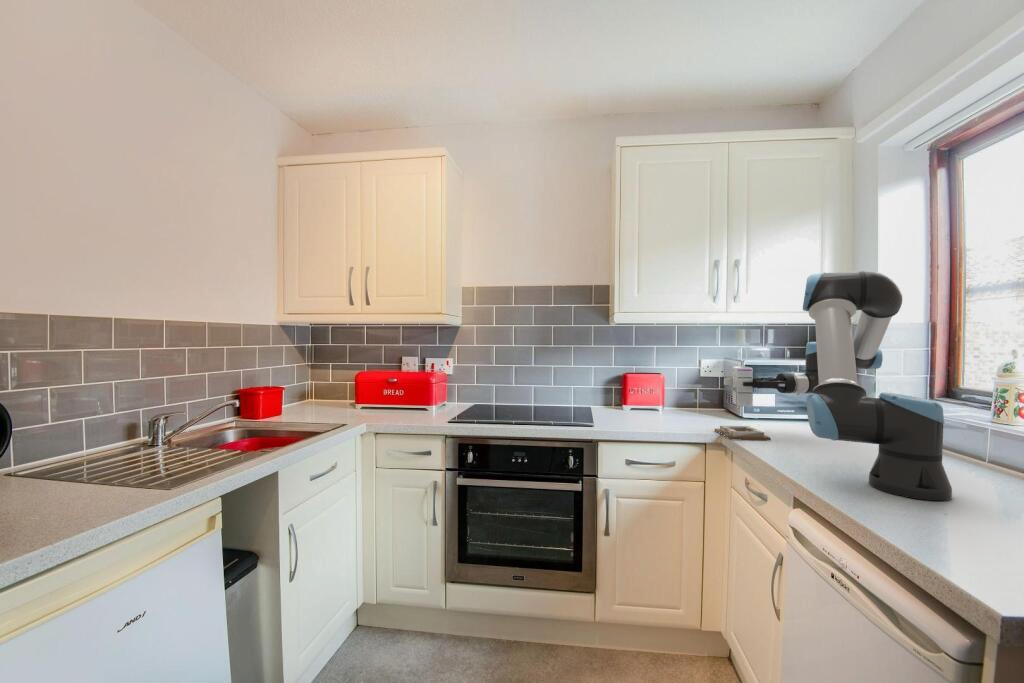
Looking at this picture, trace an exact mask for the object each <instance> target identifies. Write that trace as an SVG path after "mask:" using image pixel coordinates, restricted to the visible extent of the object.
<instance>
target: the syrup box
mask: <svg viewBox="0 0 1024 683" xmlns="http://www.w3.org/2000/svg"><path fill="white" fill-rule="evenodd" d="M753 369H754V368H753V367H749V366H744V365H743V366H742V365H741V366H740V365H739V366H732V378H733V380H752V382H753V378H754V376H753V374H754V372H753V371H754V370H753ZM731 386H732V387H731V388H732V396H731V397H732V398H731V400H732V404H733V405H735V406H737V407H750V408H751V407H753V406H754V405H753V404H754V403H753V402H754V401H753V400H754V398H753V397H754V393H753V392H754V388H753V387H752V388H744V387H733V385H731Z"/></svg>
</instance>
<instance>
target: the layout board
mask: <svg viewBox="0 0 1024 683" xmlns="http://www.w3.org/2000/svg"><path fill="white" fill-rule="evenodd" d="M714 430H715V431H717V432H720V433H722V434H723V435H725V436H726V437H725V436H724V437H725V438H727V437H728V438H727V439H729V440H731V441H733V440H732V439H741V440H740V441H767V440H771V441H772V438H771V437H770V436H767V435H766V434H765V432H764V431H761V430H759V429H756V428H754V427H751V426H750V425H720V426H719V428H714ZM715 431H714V432H715ZM717 432H716V433H717ZM723 435H722V436H723Z"/></svg>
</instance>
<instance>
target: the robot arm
mask: <svg viewBox="0 0 1024 683" xmlns="http://www.w3.org/2000/svg"><path fill="white" fill-rule="evenodd" d="M901 290H902V289H901V288H900V287H899V285H898V284H897V283H896V282H895V281H894V280H893V279H892V278H891V277H889V276H888V275H886V274H884V273H881V272H879V271H875V270H874V271H873V270H863V271H861V270H860V271H838V272H837V271H836V272H825V271H824V272H822V273H821V272H820V273H819V272H818V273H812V274H810V275H808V277H807V278H806V284H805V290H804V296H803V297H804V298H803V303H802V310H803V311H804V312H808V315H809V317H810V318H811V319H812V320H814V322H815V324H814V325H815V327H814V328H815V340H816V341H809V342H807V343H806V345H805V348H806V349H805V354H804V355H805V372H802V373H801V372H791V373H790V372H788V373H786V372H780V373H778V374H777V375H776V377H772V376H771V377H770V376H769V377H753V382H752V380H733V377H724V378H723V385H724V386H733V387H744V388H752V387H753V389H774V390H777V391H778V393H780V394H796V395H801V394H808V395H807V396H806V402H805V403H806V409H807V410H806V413H807V421H808V424H809V427H810V430H811V432H812V434H813V435H815V437H817V438H821V439H827V440H832V441H841V442H842V441H843V442H854V443H860V444H861V443H862V444H864V443H865V444H871V445H872V444H873V445H878V451H877V452H878V454H877V456H876V458H875V461H874V463H873V465H872V467H871V469H870V472H869V474H868V483H869V485H870V486H872V487H874V488H876V489H877V488H878V490H880V491H883V492H886V493H889V492H890V494H892V493H894V494H893V495H896V494H898V495H897V496H900V495H902V496H901V497H905V496H907V497H906V498H910V497H912V498H911V499H915V498H917V499H916V500H922V499H925V500H924V501H932V500H945V501H948V500H947V499H950V498H951V497H953V488H952V485H951V483H950V481H949V478H948V474H947V473H946V470H945V468H944V465H943V453H944V452H943V446H944V424H945V419H944V418H945V417H944V407H943V406H942V405H941V404H940V403H938V402H937V401H934V400H930V399H926V398H921V397H916V396H912V395H907V394H906V395H905V394H898V393H892V392H890V393H889V392H880V393H879V395H878V397H867V390H866V389H865V388H864V387H863V386H862V385H860V384H858V383H859V381H858V375H857V374H858V372H857V369H858V370H861V369H862V370H872V369H873V370H877V369H880V368H881V367H882V365H883V358H884V356H883V351H882V350H881V348H880V346H881V344H882V341H883V339H884V337H885V334H886V331H887V330H888V327H889V325H890V323H891V321H892V318H893V317H894V316H896V315H897V314H898V312H900V310H901V307H902V305H903V294H902V291H901ZM857 311H861V312H860V315H859V318H858V322H857V325H856V328H855V331H854V333H853V326H852V317H853V316H855V314H856V313H857ZM853 334H854V335H853ZM951 499H952V498H951ZM951 499H950V500H951Z"/></svg>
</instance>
